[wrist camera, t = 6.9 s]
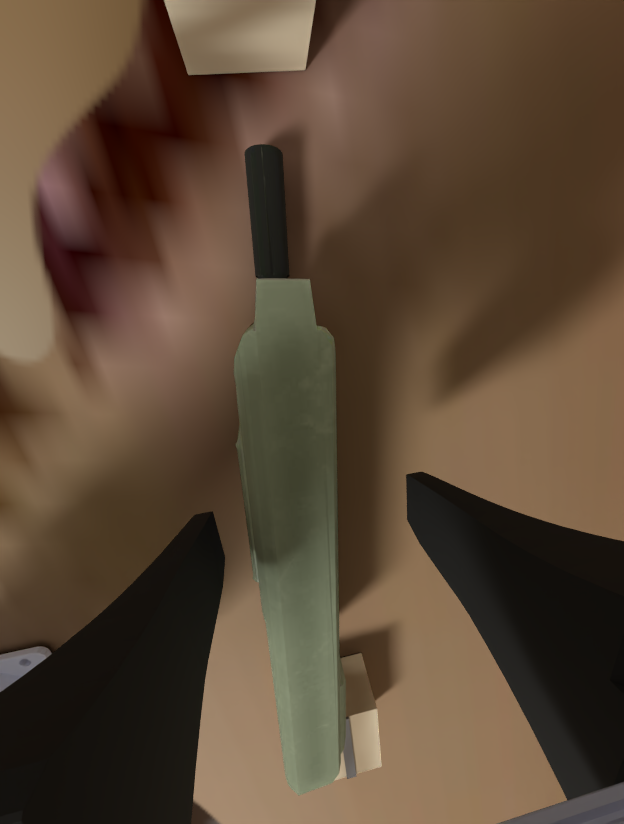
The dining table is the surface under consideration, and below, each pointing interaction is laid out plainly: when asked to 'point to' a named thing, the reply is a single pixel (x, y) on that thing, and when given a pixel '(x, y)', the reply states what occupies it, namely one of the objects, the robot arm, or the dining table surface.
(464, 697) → the dining table surface
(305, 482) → the handheld radio
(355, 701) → the taped cardboard parcel
